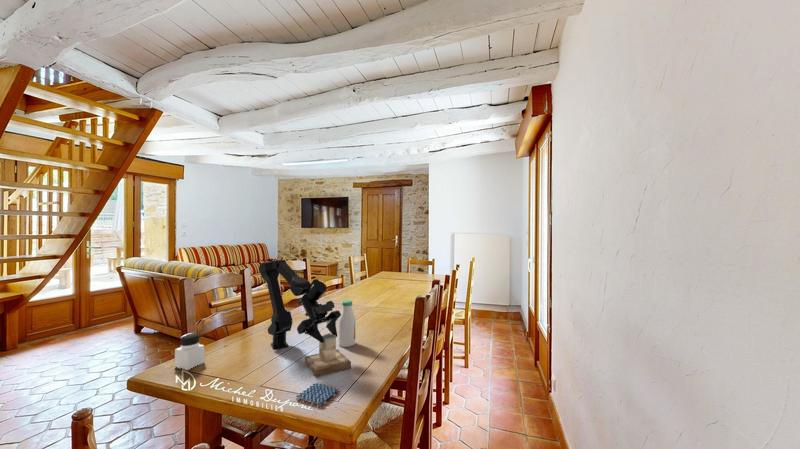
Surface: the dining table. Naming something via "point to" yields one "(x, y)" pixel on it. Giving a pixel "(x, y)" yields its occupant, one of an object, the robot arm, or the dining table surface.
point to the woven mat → (318, 395)
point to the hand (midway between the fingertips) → (329, 339)
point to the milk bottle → (347, 325)
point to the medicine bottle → (189, 352)
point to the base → (327, 364)
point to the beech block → (327, 348)
